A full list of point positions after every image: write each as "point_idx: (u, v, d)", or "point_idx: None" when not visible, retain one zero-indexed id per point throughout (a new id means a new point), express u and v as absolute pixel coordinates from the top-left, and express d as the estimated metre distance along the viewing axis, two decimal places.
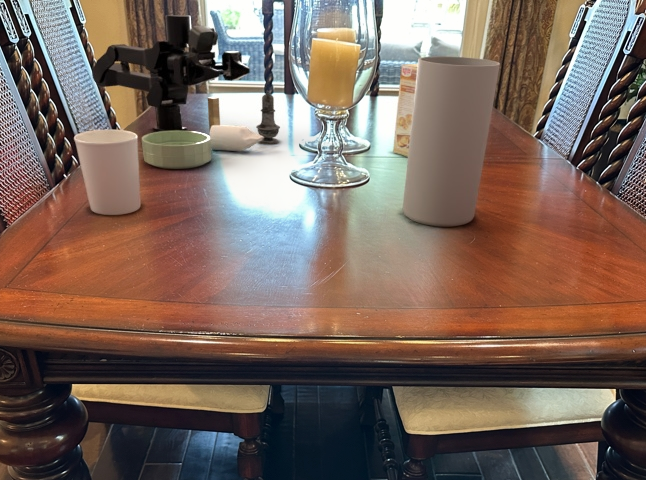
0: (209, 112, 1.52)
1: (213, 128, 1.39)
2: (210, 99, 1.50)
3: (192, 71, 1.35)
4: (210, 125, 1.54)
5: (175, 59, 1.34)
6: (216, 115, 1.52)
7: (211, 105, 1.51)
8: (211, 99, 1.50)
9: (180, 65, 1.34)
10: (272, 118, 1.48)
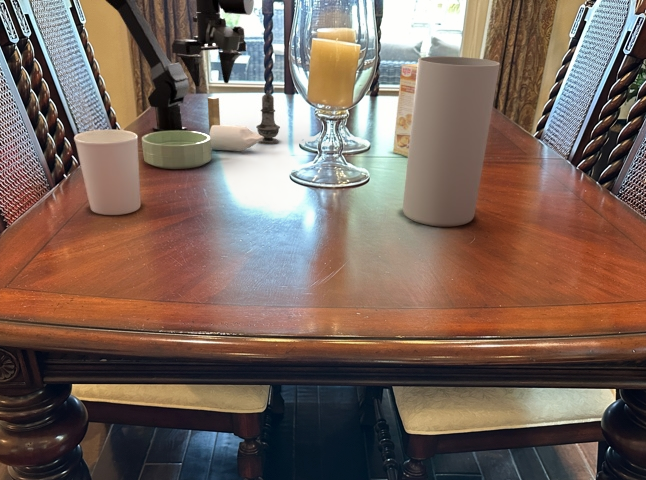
0: (209, 112, 1.52)
1: (213, 128, 1.39)
2: (210, 99, 1.50)
3: None
4: (210, 125, 1.54)
5: (185, 48, 1.37)
6: (216, 115, 1.52)
7: (211, 105, 1.51)
8: (211, 99, 1.50)
9: (183, 54, 1.39)
10: (272, 118, 1.48)
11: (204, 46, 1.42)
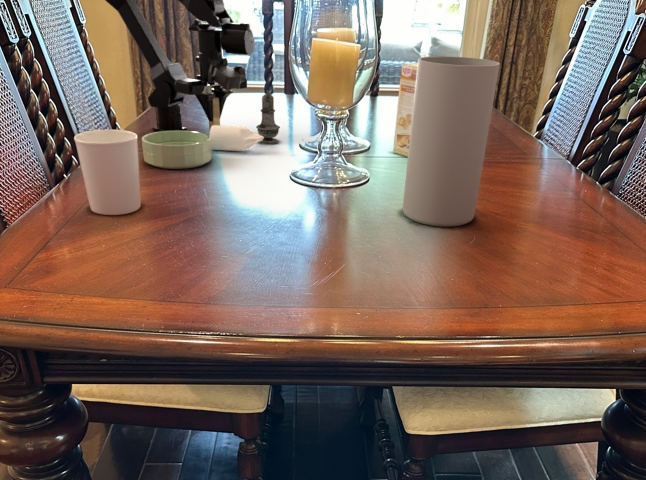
0: None
1: (213, 128, 1.39)
2: None
3: None
4: (210, 125, 1.54)
5: (188, 88, 1.42)
6: (216, 115, 1.52)
7: None
8: None
9: (186, 93, 1.43)
10: (272, 118, 1.48)
11: (217, 84, 1.48)
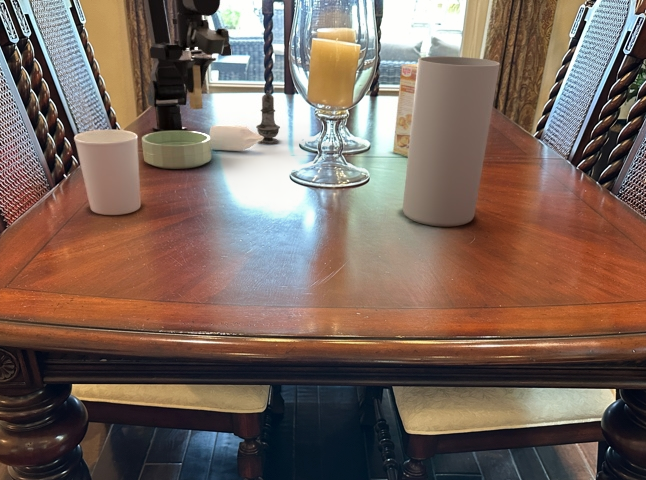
0: None
1: (213, 128, 1.39)
2: None
3: None
4: (191, 97, 1.37)
5: (164, 52, 1.25)
6: (197, 85, 1.36)
7: None
8: None
9: (162, 59, 1.27)
10: (272, 118, 1.48)
11: (197, 49, 1.32)
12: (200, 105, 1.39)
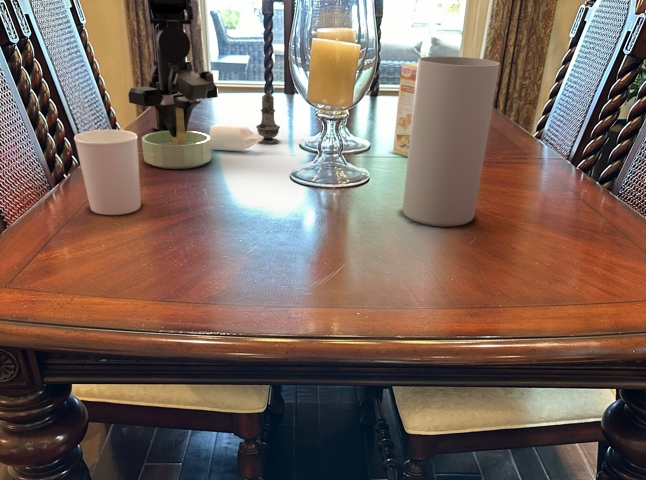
0: None
1: (213, 128, 1.39)
2: None
3: None
4: (174, 141, 1.29)
5: (143, 98, 1.17)
6: (181, 129, 1.28)
7: None
8: None
9: None
10: (272, 118, 1.48)
11: (180, 93, 1.24)
12: None
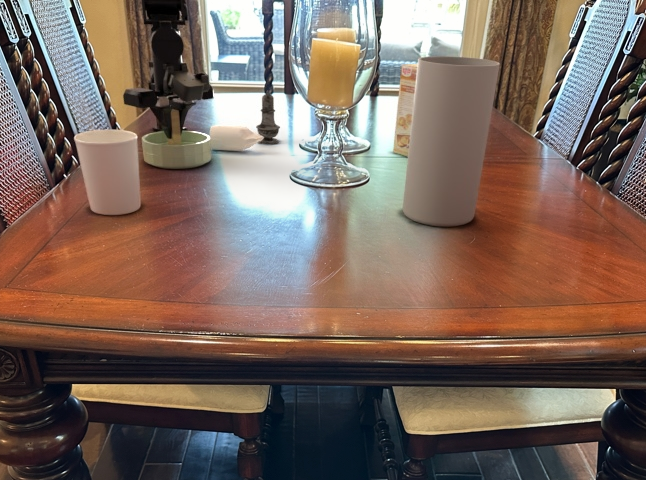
0: None
1: (213, 128, 1.39)
2: None
3: None
4: (169, 143, 1.28)
5: (138, 100, 1.16)
6: (176, 131, 1.27)
7: None
8: None
9: (136, 106, 1.18)
10: (272, 118, 1.48)
11: (176, 94, 1.23)
12: None
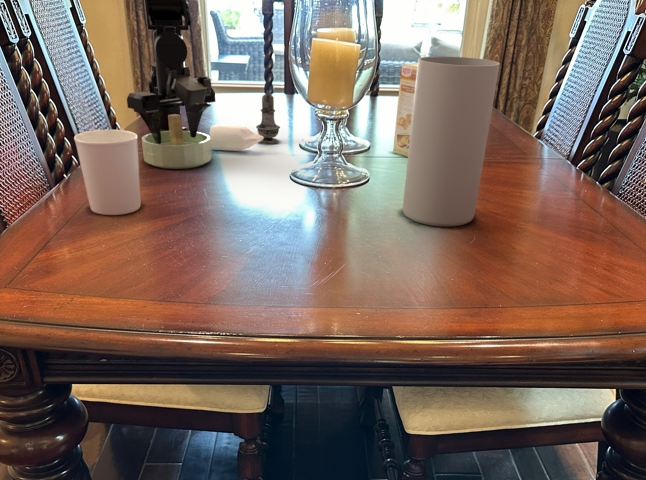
0: (170, 132, 1.29)
1: (213, 128, 1.39)
2: (171, 117, 1.27)
3: None
4: None
5: (141, 103, 1.18)
6: (179, 135, 1.29)
7: (172, 124, 1.27)
8: (172, 117, 1.27)
9: None
10: (272, 118, 1.48)
11: (165, 99, 1.22)
12: None
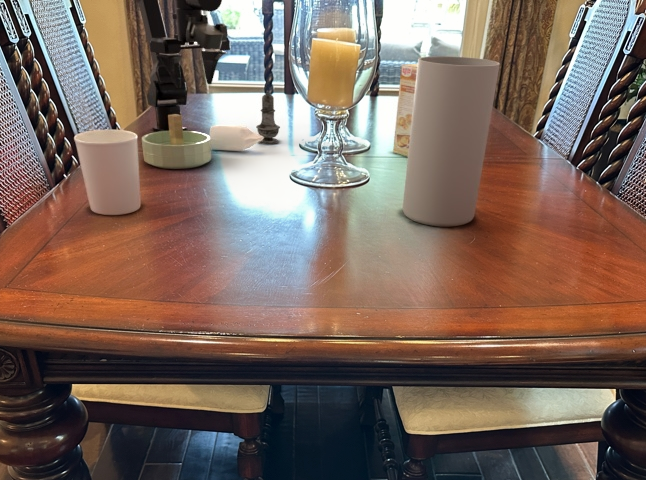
0: (170, 132, 1.29)
1: (213, 128, 1.39)
2: (171, 117, 1.27)
3: None
4: None
5: (164, 46, 1.29)
6: (179, 135, 1.29)
7: (172, 124, 1.27)
8: (172, 117, 1.27)
9: None
10: (272, 118, 1.48)
11: (184, 44, 1.33)
12: None
